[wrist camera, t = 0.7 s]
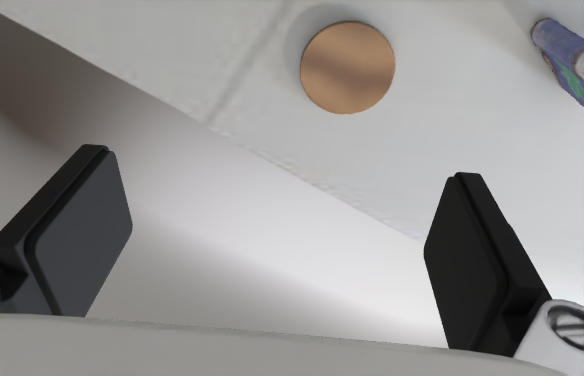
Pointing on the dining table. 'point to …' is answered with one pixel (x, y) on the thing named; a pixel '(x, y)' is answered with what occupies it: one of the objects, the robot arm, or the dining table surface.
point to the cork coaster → (347, 67)
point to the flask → (562, 55)
